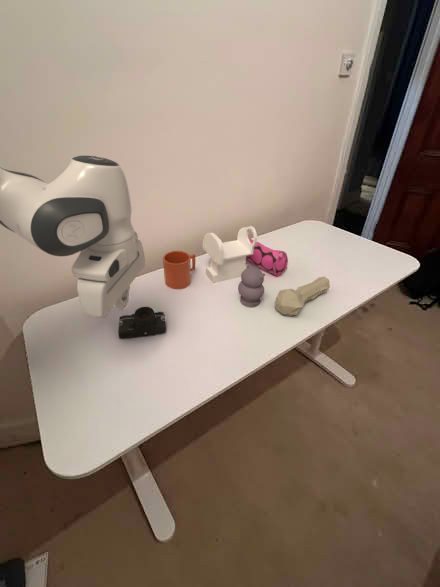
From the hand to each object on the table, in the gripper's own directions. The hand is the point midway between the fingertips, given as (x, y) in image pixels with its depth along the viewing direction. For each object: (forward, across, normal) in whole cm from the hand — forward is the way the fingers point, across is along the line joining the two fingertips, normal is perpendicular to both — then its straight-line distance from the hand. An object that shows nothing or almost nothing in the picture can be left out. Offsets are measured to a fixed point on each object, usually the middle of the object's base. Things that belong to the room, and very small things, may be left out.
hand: (122, 305), depth 65 cm
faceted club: (+16, -34, +43) cm, 58 cm away
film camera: (+17, -11, -2) cm, 21 cm away
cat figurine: (+17, -31, +26) cm, 43 cm away
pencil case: (+16, -54, +27) cm, 62 cm away
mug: (+17, -36, +2) cm, 40 cm away
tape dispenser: (+17, -44, +17) cm, 49 cm away
